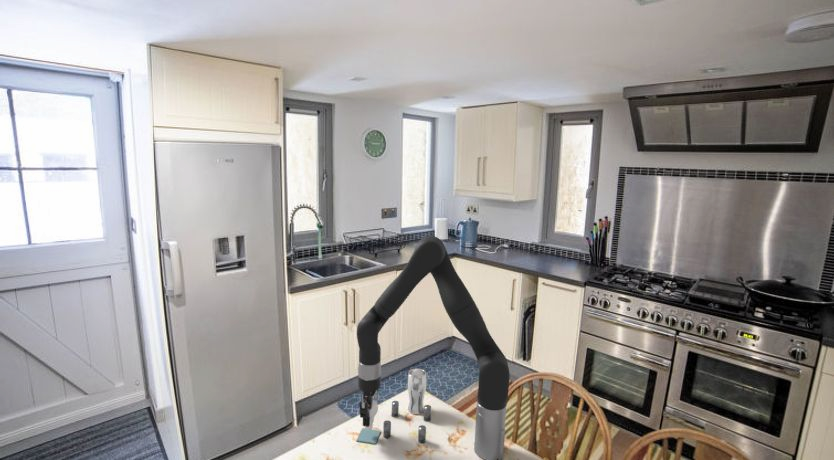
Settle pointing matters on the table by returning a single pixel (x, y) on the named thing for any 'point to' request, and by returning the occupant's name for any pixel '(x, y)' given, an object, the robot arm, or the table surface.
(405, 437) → the table surface
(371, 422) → the lightbulb
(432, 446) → the table surface
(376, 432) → the mat
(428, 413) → the spacers
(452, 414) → the table surface
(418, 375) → the beer glass
